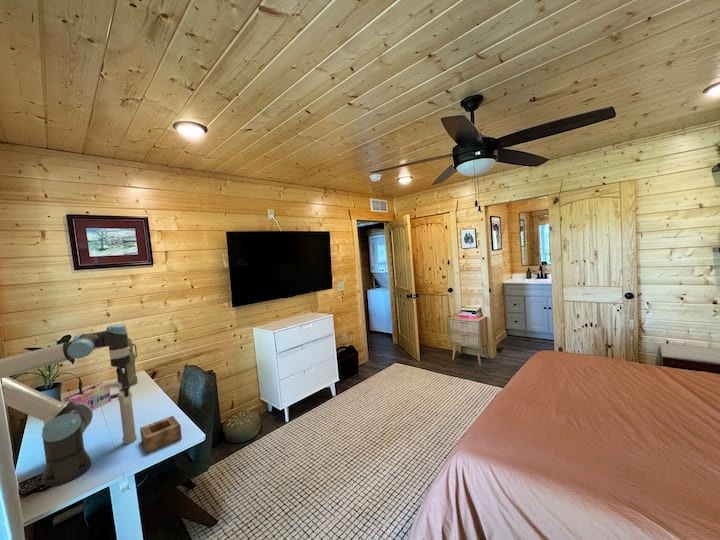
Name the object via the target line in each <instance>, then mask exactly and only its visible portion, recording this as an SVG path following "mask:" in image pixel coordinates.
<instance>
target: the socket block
mask: <svg viewBox="0 0 720 540" xmlns="http://www.w3.org/2000/svg"><path fill="white" fill-rule="evenodd" d="M181 427H182V426H181V424H180V423H179V422H178V420H177V419H176V417H174V415H171V416H168V417H166V418H163V419H160V420H157V421H154V422H152V423H150V424H146V425H145V426H141V427H139V430H140V438H141V439H140V440H141V444H142V445H143V448H144V450H145V451H146V454H150V453H153V452H154V451H157V450H160V449H161V448H165V447H166V446H168V445H171V444H173V443H176V442H177V441H180V440H182V437H183V436H182V428H181Z"/></svg>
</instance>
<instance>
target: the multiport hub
mask: <svg viewBox="0 0 720 540" xmlns="http://www.w3.org/2000/svg"><path fill="white" fill-rule="evenodd" d="M118 394H119V392H118V393H115V394H110V396H111V400H112V399H116V398H118Z"/></svg>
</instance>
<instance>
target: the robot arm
mask: <svg viewBox="0 0 720 540" xmlns="http://www.w3.org/2000/svg"><path fill="white" fill-rule="evenodd" d="M128 338H129V337H128V330H127V326H126V324H124V323H120V324H119V323H118V324H113V325H108V326H107V327H106V330H103V331H96V332H89V333H82V334H77V335H75V336H73V339H72V340H70V341H67V342H63V343H59V344H56V345H52V346H48V347H43V348H39V349H35V350H32V351H31V350H30V351H28V352H25V353H24V352H23V353H20V354H16V355H11V356H8V357H4V358H0V376H1V379H2V386H3V392H4V398H5V403H6V406H8V407H10V408H12V409H15V410H16V411H19V412H22V413H24V414H25V415H28V416H31V417H33V418H35V419H37V420H39V421H42V422H43V427H42V430H41V438H42V442H43V443H42V444H43V450H44V459H45V465H44V469H43V473H42V476H41V483H43V484H44V485H46V486H50V487H55V486H60V485H62V484H66V483H68V482H70V481H72V480H74V479H76V478H78V477H80V476H82V475H83V474H85V473H86V472H87V471H88V470H89V469H90V468H91V467H92V457H90V455H89V453H88V452H87V450H86V449H85V445H84V443H85V442H84V433H85V431H86V430H87V428H88V427H89V425H90V424H91V422H92V419H93V417H94V416H93V415H94V413H93V412H94V410H93V411H92V409H91V408H90V407H89V406H88V405H86V404H74V403H72V402H70V401H68V402H64V401H63V402H62V401H59V400H58V399H55V398H53V397H52V396H49V395H47V394H45V393H43V392H41V391H38V390H36V389H34V388H32V387H31V386H28V385H26V384H25V383H22V382H20V381H18V380H16V379H14V378H12V377H13V376H16V375H20V374H23V373H28V372H30V371H34V370H37V369H41V368H44V367H47V366H52V365H56V364H60V363H62V362H67V361H70V360H73V359H82V358H85V357H88V356H89V355H91V354H92V352H93V351H94V350H96V349H100V348H105V347H106V348H107V347H108V354H109V358H110V366H111V367H113V368H114V367H115V368H116V369H115V372H116V375H117V376H116V378H117V379H116V380H117V383H118V382H119V383H118V384H117V385H118V391H119V392H118V393H119V394H120V393H122V395H123V403H124V404H126V403H130V402H131V399H132V398H131V399H130V391H131V390H130V389H131V386H130V387H129V381H128V373H127V367H126V366H125V365H126V364H128V363H130V355H128V354H129V349H131V348H130V347H129V344H128ZM121 385H122V386H121ZM126 386H127V387H126ZM46 486H45V487H46Z"/></svg>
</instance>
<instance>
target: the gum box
mask: <svg viewBox="0 0 720 540" xmlns="http://www.w3.org/2000/svg"><path fill="white" fill-rule="evenodd" d="M110 395H111V391H110V384H109V383H102V382H100V383H98V384H95V385H93V386H91V387H89V388H86V389H84V390H81V391H79V392H77V393H74V394H72V395H69V396H67V397H65V398H64V399H63V400H64V401H63V402H68V401H70V402H72V403H74V404H86V405H88V406H89V407H90V408H91V409H92V411H93V412H94V411H95V410H97V409H99V408H101V407H102V406H104V405H106V404H108V403H111V402H112V399H111V396H110Z"/></svg>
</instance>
